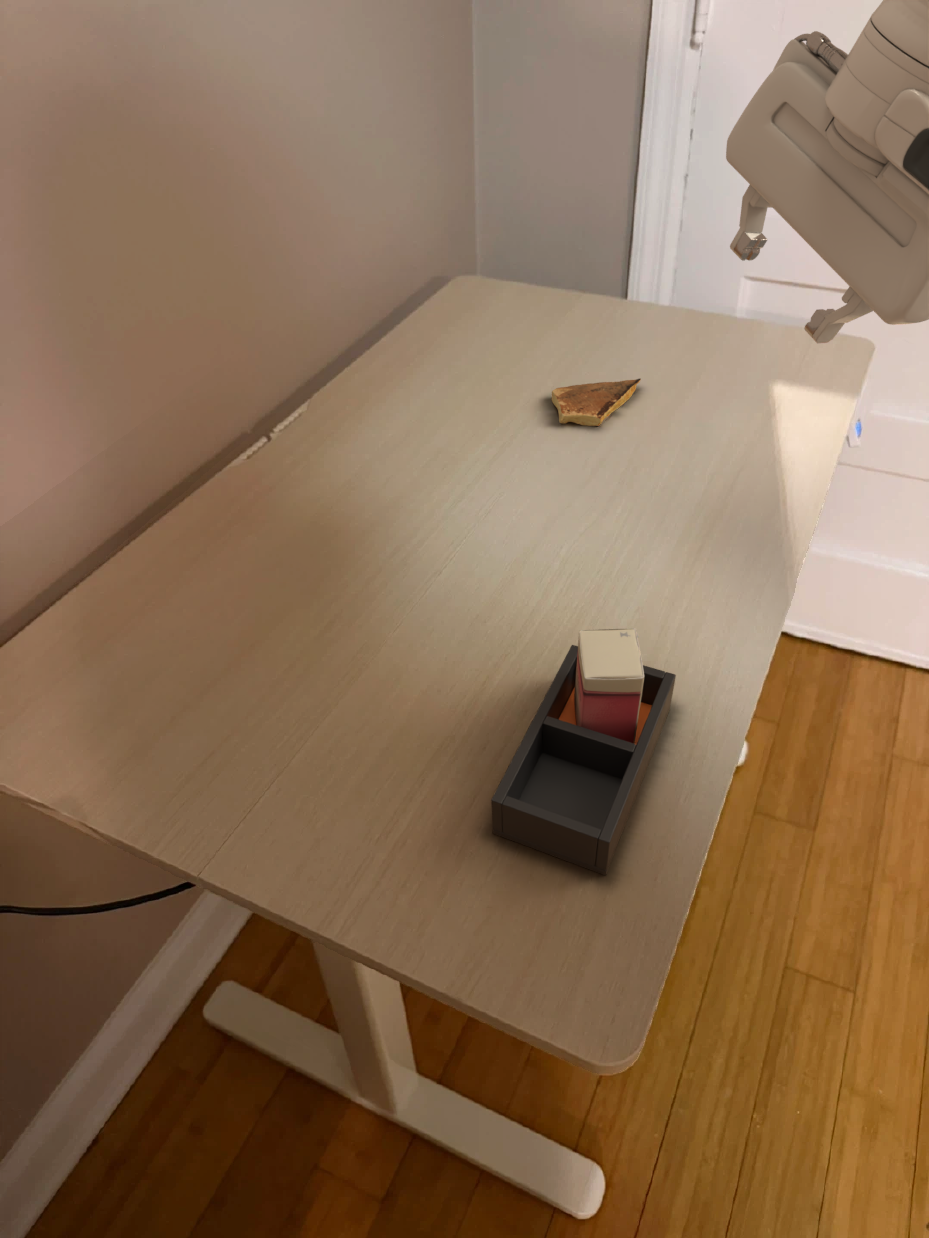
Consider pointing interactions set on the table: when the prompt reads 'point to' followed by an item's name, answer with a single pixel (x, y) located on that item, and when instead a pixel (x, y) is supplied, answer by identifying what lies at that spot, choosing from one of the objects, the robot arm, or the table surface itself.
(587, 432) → the table surface
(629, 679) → the small box
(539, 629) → the table surface
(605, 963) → the table surface
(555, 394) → the shard
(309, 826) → the table surface
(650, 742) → the holder
